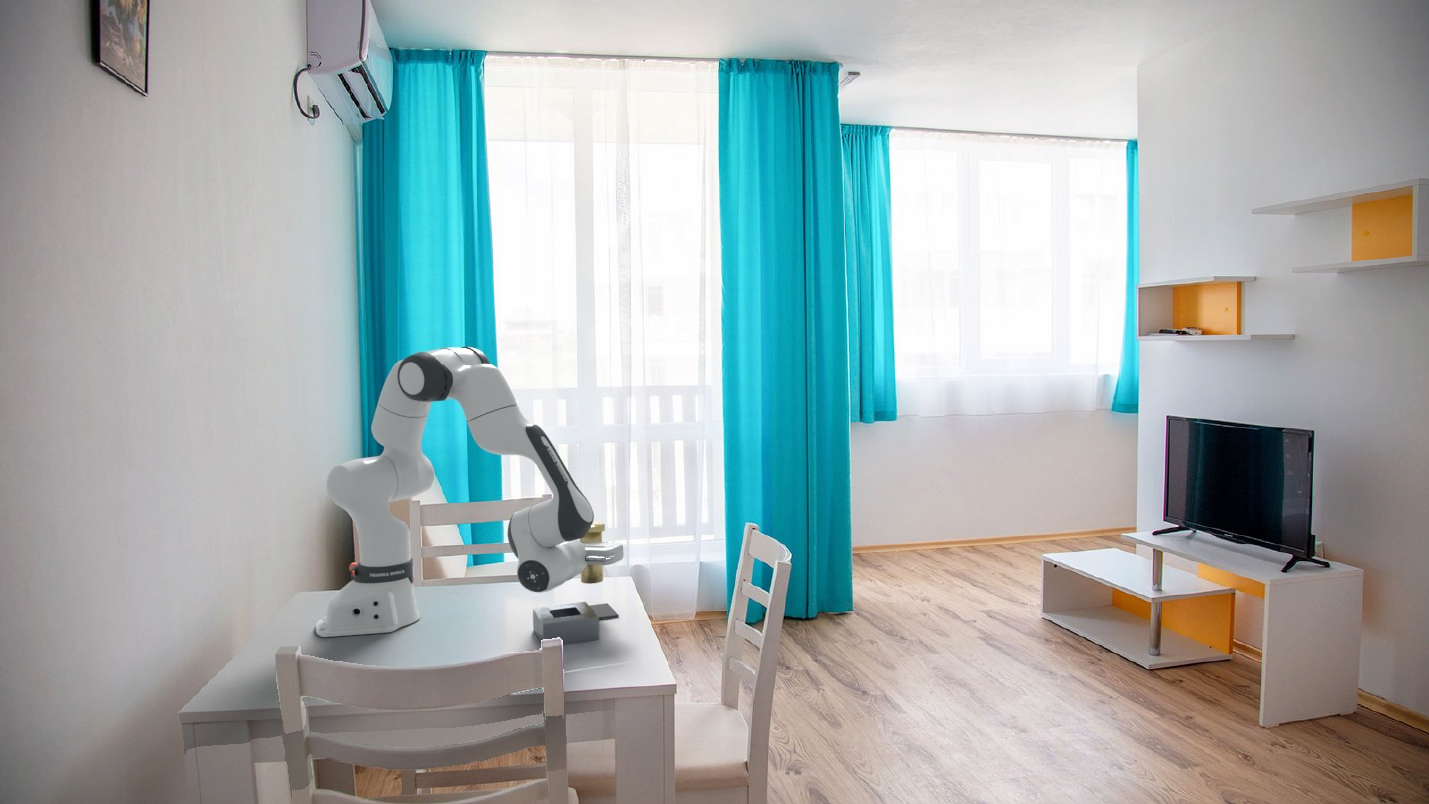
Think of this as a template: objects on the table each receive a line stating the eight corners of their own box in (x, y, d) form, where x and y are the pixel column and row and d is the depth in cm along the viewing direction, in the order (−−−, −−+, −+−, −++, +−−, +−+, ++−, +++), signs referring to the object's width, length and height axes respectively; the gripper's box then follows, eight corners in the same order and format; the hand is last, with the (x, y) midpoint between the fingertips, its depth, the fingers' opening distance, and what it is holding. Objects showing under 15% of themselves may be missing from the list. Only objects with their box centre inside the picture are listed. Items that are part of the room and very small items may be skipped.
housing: (543, 647, 178) (543, 624, 178) (533, 630, 189) (532, 608, 189) (599, 639, 182) (598, 616, 182) (586, 623, 194) (585, 601, 193)
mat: (576, 623, 194) (576, 620, 194) (567, 610, 203) (566, 608, 203) (618, 617, 198) (618, 614, 197) (607, 605, 207) (607, 603, 207)
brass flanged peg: (581, 585, 195) (579, 529, 194) (574, 578, 202) (573, 524, 201) (609, 582, 198) (608, 526, 197) (602, 575, 204) (601, 521, 203)
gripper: (610, 546, 184) (633, 533, 197) (525, 542, 189) (553, 529, 203) (610, 574, 184) (633, 559, 197) (526, 570, 190) (554, 555, 203)
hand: (592, 544), depth 200 cm, fingers closed on brass flanged peg, 5 cm apart
